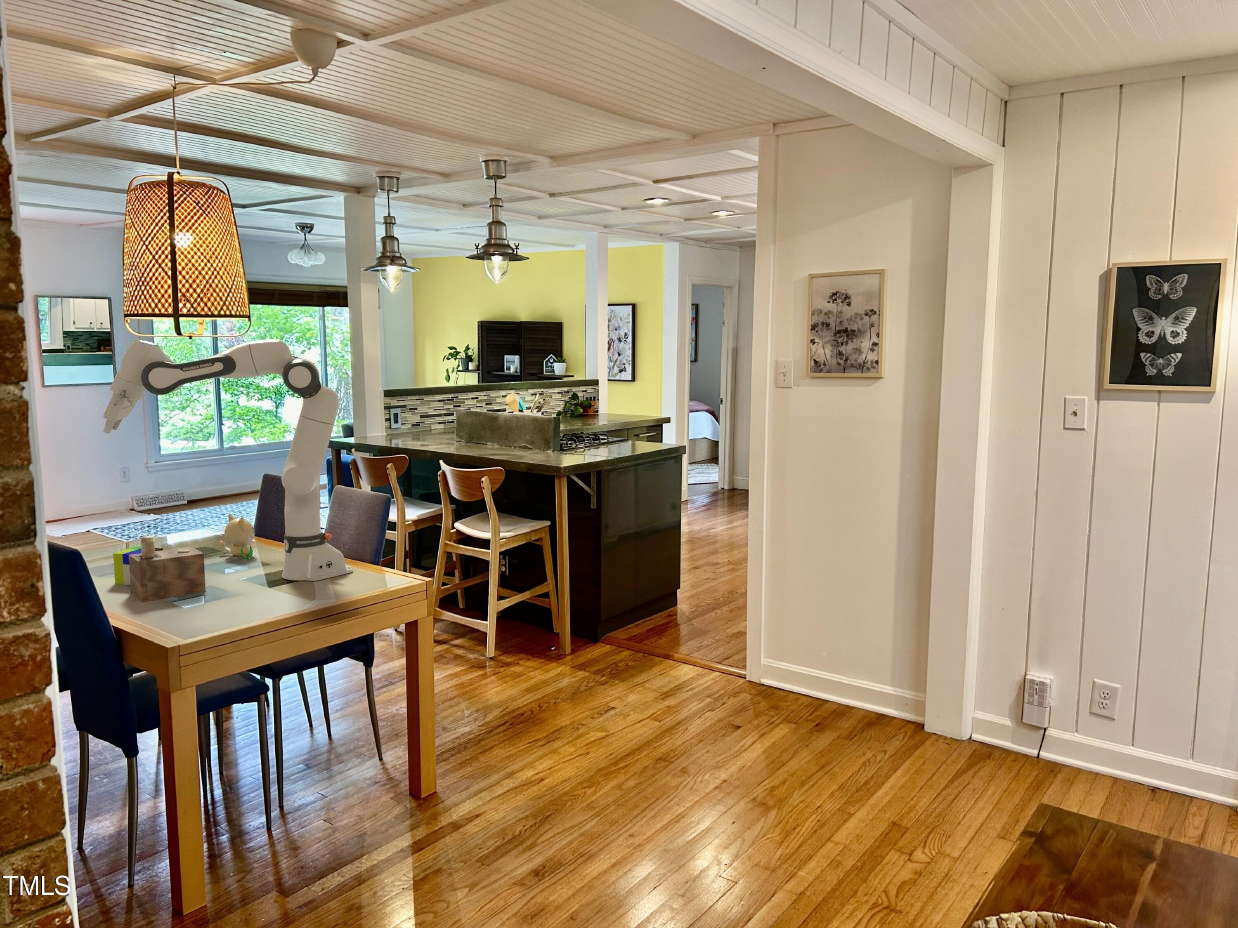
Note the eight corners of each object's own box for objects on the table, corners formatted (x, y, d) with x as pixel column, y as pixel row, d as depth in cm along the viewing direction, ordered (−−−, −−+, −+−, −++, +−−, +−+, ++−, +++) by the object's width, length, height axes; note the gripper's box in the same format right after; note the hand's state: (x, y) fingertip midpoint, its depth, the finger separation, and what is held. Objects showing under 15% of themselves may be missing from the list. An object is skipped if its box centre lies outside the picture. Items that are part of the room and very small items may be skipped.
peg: (154, 572, 269) (152, 535, 267) (157, 574, 266) (155, 537, 265) (141, 573, 267) (139, 536, 265) (144, 576, 264) (142, 538, 262)
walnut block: (193, 583, 281) (191, 545, 279) (205, 591, 272) (203, 552, 271) (131, 593, 269) (128, 553, 267) (141, 601, 260) (139, 561, 259)
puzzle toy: (142, 586, 277) (140, 555, 276) (115, 583, 279) (113, 553, 278) (164, 578, 287) (163, 548, 286) (138, 576, 289) (136, 546, 288)
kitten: (264, 556, 318) (262, 515, 316) (237, 561, 310) (235, 519, 308) (245, 549, 328) (243, 510, 326) (218, 554, 320) (216, 513, 318)
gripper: (131, 396, 261) (113, 438, 261) (144, 391, 280) (127, 431, 280) (108, 387, 259) (90, 430, 259) (123, 383, 278) (106, 423, 278)
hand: (110, 431), depth 270 cm, fingers open, 8 cm apart
